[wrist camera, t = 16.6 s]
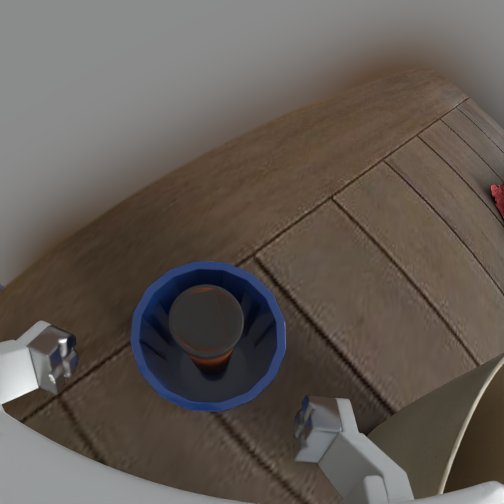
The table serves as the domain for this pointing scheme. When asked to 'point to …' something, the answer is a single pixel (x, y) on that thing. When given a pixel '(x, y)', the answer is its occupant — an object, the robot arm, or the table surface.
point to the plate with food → (499, 197)
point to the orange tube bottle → (207, 325)
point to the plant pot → (450, 433)
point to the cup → (178, 362)
